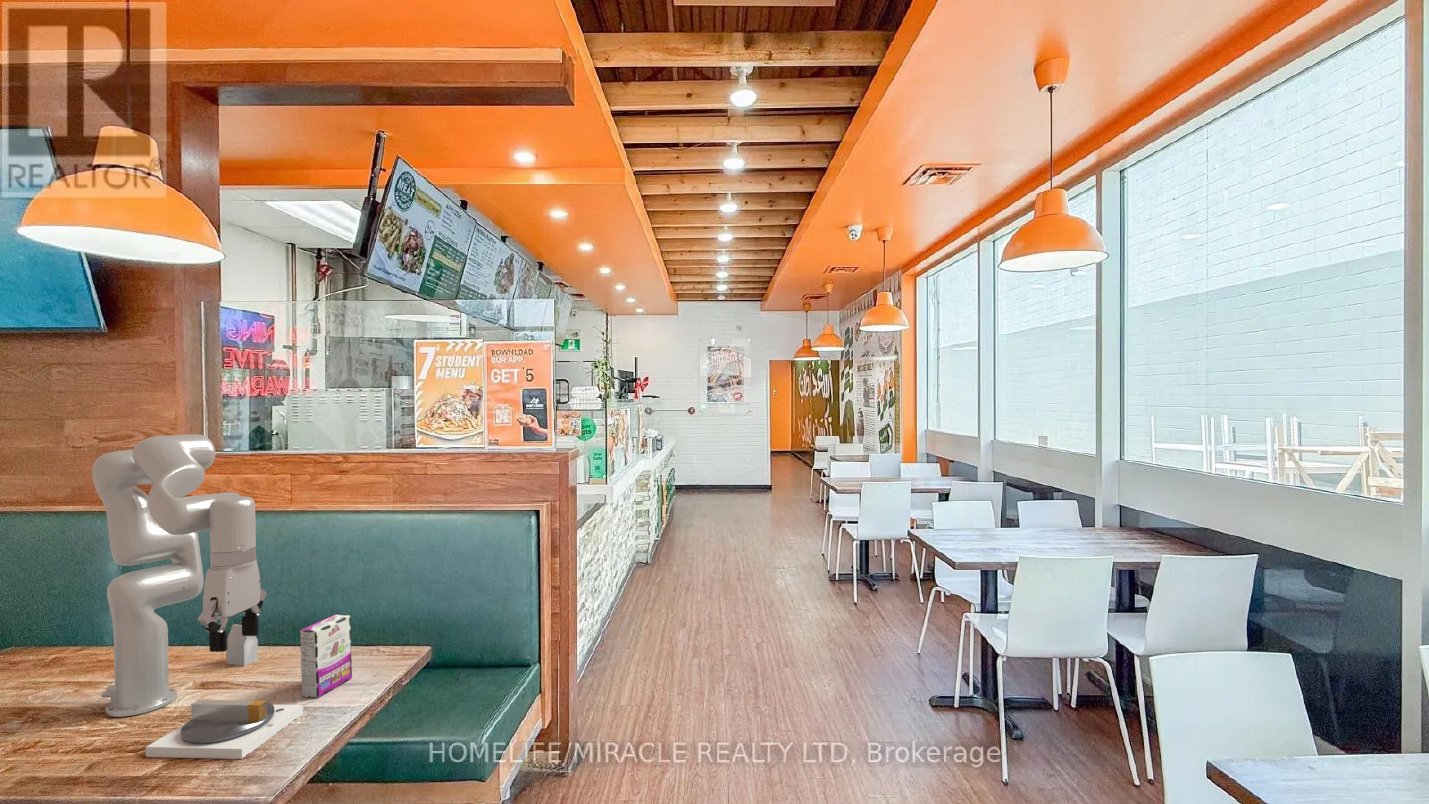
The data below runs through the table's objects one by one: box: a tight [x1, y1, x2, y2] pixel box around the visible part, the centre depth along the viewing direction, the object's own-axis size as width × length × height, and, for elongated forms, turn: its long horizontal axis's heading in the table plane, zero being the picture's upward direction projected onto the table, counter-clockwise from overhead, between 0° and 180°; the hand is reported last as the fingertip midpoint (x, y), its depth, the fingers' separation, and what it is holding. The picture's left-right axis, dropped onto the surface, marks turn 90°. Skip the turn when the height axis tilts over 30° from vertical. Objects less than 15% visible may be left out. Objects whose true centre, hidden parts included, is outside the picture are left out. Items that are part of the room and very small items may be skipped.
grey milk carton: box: [225, 623, 259, 667], centre depth 175 cm, size 4×7×10 cm, turn 72°
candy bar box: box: [299, 614, 353, 699], centre depth 159 cm, size 11×5×16 cm, turn 168°
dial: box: [181, 699, 274, 744], centre depth 138 cm, size 16×16×5 cm
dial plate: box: [145, 704, 304, 760], centre depth 138 cm, size 20×18×2 cm
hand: (234, 642), depth 132 cm, fingers open, 7 cm apart
